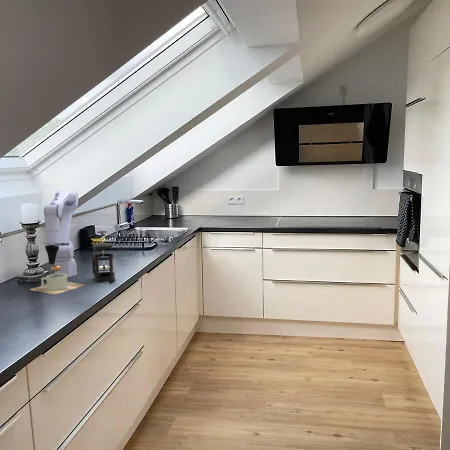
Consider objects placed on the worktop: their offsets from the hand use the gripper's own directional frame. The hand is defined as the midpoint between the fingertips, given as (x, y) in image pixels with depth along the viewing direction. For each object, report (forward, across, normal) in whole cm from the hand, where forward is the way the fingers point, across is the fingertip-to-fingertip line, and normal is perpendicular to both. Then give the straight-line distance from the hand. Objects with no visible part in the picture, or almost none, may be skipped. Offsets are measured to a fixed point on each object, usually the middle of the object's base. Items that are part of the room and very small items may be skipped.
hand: (51, 263), depth 202 cm
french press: (+8, -5, +22) cm, 24 cm away
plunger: (+7, +2, +2) cm, 7 cm away
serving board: (+11, 0, +2) cm, 11 cm away
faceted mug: (+10, +1, +2) cm, 11 cm away
